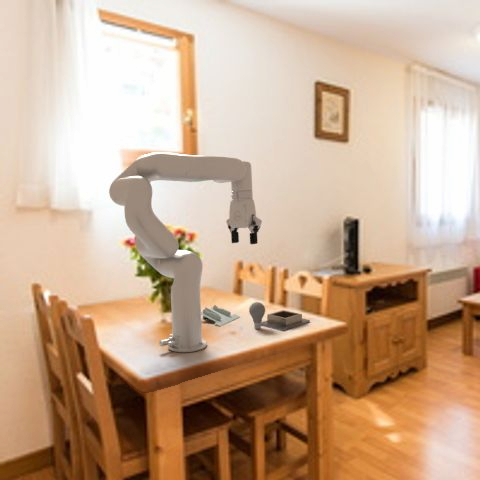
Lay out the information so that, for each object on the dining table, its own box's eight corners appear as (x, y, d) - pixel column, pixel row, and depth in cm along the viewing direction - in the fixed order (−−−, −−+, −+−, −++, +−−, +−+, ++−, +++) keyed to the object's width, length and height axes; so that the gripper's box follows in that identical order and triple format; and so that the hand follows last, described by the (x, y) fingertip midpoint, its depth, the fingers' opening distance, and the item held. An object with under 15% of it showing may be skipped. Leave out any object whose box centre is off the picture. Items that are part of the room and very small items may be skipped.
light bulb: (254, 325, 157) (253, 299, 156) (268, 327, 154) (267, 301, 153) (246, 329, 152) (246, 303, 151) (260, 331, 149) (260, 304, 148)
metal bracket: (194, 309, 163) (215, 301, 176) (191, 322, 164) (213, 313, 177) (223, 323, 156) (243, 314, 169) (220, 337, 158) (240, 327, 170)
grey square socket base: (282, 331, 149) (282, 321, 149) (259, 324, 158) (259, 315, 158) (309, 322, 160) (309, 313, 160) (286, 316, 169) (286, 308, 169)
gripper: (218, 197, 152) (221, 243, 153) (251, 195, 139) (254, 245, 141) (233, 197, 157) (235, 241, 159) (266, 195, 145) (268, 243, 146)
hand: (244, 243), depth 150 cm, fingers open, 9 cm apart
